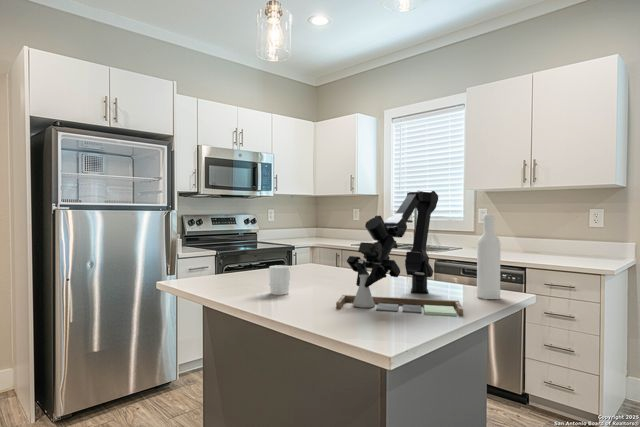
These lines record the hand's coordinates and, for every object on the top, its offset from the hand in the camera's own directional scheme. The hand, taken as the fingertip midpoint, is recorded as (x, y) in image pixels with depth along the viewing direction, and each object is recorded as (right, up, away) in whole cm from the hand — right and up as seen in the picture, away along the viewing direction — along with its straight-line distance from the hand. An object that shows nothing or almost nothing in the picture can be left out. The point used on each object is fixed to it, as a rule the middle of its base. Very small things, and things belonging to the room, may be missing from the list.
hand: (361, 286), depth 133 cm
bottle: (+47, -7, +15) cm, 50 cm away
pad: (+23, -7, -6) cm, 25 cm away
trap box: (+12, -7, -1) cm, 14 cm away
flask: (+1, -7, +1) cm, 7 cm away
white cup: (-28, -7, +21) cm, 36 cm away
